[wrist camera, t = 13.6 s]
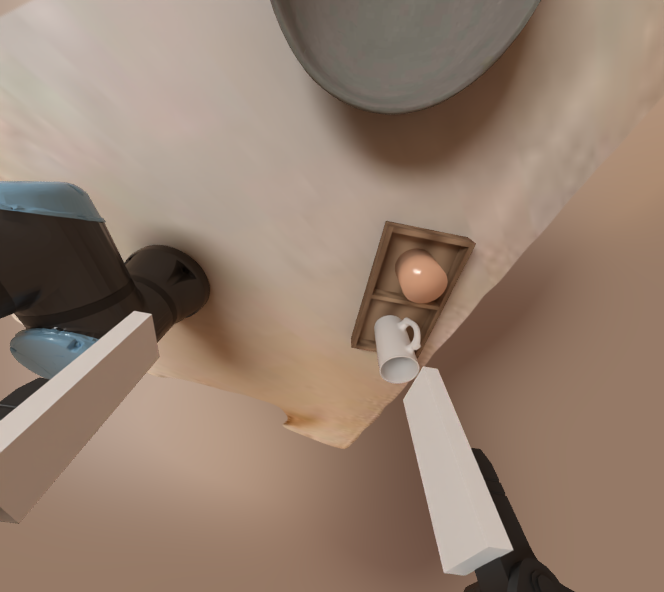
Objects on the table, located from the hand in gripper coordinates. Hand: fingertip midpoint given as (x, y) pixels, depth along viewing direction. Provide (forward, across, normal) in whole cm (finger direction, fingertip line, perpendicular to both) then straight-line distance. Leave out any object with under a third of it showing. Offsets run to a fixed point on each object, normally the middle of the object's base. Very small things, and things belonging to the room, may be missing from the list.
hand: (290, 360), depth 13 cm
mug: (+34, +19, -19) cm, 43 cm away
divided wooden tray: (+34, +18, -13) cm, 41 cm away
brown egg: (+34, +18, -6) cm, 39 cm away
